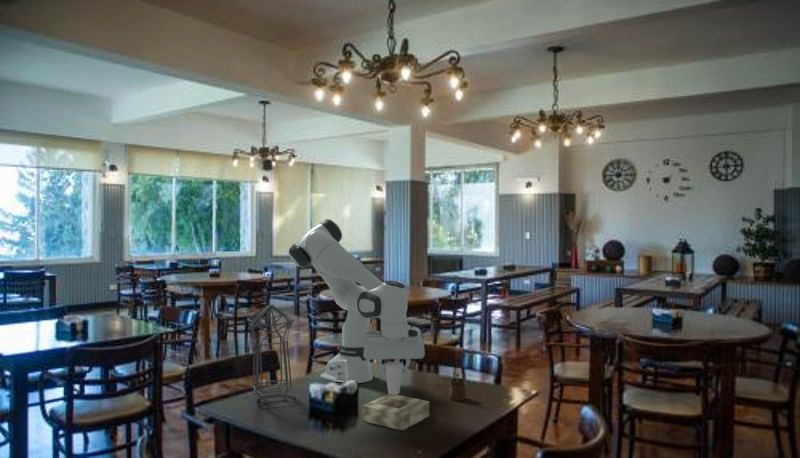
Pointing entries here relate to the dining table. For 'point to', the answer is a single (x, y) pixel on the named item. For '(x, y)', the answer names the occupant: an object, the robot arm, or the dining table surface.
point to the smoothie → (393, 376)
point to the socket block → (395, 411)
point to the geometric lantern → (270, 344)
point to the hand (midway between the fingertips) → (393, 372)
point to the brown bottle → (457, 388)
